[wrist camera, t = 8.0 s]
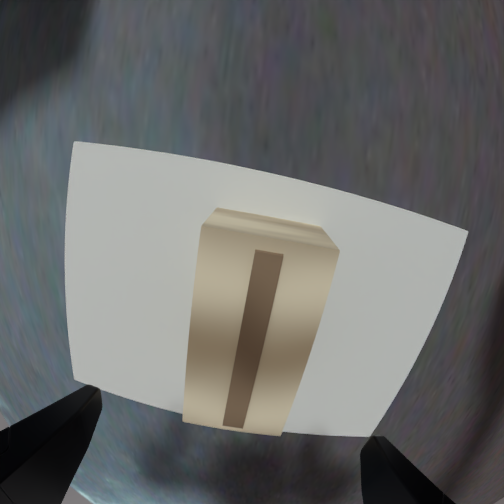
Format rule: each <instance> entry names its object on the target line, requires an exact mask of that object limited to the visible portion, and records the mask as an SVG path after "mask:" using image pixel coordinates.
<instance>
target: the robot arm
mask: <svg viewBox="0 0 504 504" xmlns="http://www.w3.org/2000/svg"><path fill="white" fill-rule="evenodd" d="M101 411H102V398H101V391H100V389H99V388H98V387H95V386H93V385H90V384H89V385H86V386H84V387H82V388H80V389H79V390H77V391H75V392H73V393H71V394H69V395H68V396H66V397H64V398H62V399H60V400H58V401H57V402H55V403H53V404H51V405H49V406H47V407H46V408H44V409H42V410H40V411H38V412H36V413H34V414H32V415H31V416H29V417H27V418H25V419H23V420H21V421H19V422H17V423H15V424H13V425H11V426H10V427H7V428H6V429H4V430H2V431H0V504H61V503H62V501H63V499H64V496H65V494H66V492H67V490H68V488H69V486H70V484H71V482H72V480H73V478H74V475H75V473H76V471H77V469H78V467H79V465H80V463H81V461H82V459H83V457H84V455H85V453H86V451H87V449H88V447H89V444H90V441H91V438H92V436H93V433H94V430H95V427H96V424H97V422H98V419H99V416H100V413H101ZM360 460H361V487H362V497H363V504H455V503H454V502H453V501H452V500H451V499H450V498H448V497H447V496H446V495H445V494H443V492H442V491H441V490H440V489H439V488H438V487H436V486H435V485H434V484H433V483H432V482H431V481H430V480H429V479H428V478H427V477H426V476H425V475H424V474H423V473H422V472H421V471H419V470H418V469H417V468H416V467H415V466H414V465H413V464H412V463H411V462H410V461H409V460H408V459H407V458H406V457H405V456H404V455H403V454H402V453H401V452H400V451H399V450H398V449H397V448H396V447H395V446H394V445H392V444H391V443H390V442H389V441H388V440H387V439H386V438H385V437H384V436H383V435H372V436H371V437H370V438H369V439H368V441H367V442H366V444H365V445H364V447H363V448H362V450H361V453H360Z"/></svg>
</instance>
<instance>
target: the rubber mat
mask: <svg viewBox="0 0 504 504" xmlns="http://www.w3.org/2000/svg"><path fill="white" fill-rule="evenodd" d="M216 208H223V209H229V210H235V211H241V212H247V213H253V214H258V215H264V216H269V217H275V218H280V219H286V220H291V221H296V222H302V223H307V224H312V225H317V226H321V227H322V228H323V230H324V231H325V232H326V233H327V235H328V236H329V237H330V238H331V240H332V241H333V242H334V244H335V245H336V246H337V247H338V249H339V250H340V253H339V257H338V261H337V264H336V268H335V272H334V276H333V279H332V283H331V287H330V290H329V294H328V297H327V301H326V304H325V307H324V311H323V314H322V317H321V321H320V324H319V327H318V330H317V334H316V337H315V340H314V343H313V346H312V349H311V352H310V355H309V359H308V362H307V364H306V367H305V370H304V373H303V376H302V379H301V382H300V385H299V388H298V390H297V393H296V396H295V399H294V402H293V404H292V407H291V410H290V412H289V415H288V418H287V420H286V423H285V426H284V428H283V432H293V433H303V434H316V435H332V436H366V437H370V435H371V434H372V432H373V431H374V429H375V428H376V426H377V425H378V423H379V422H380V420H381V419H382V417H383V416H384V414H385V413H386V411H387V409H388V408H389V406H390V405H391V403H392V401H393V400H394V398H395V396H396V395H397V393H398V391H399V390H400V388H401V386H402V384H403V383H404V381H405V379H406V377H407V375H408V374H409V372H410V370H411V368H412V366H413V364H414V362H415V361H416V359H417V357H418V355H419V353H420V351H421V349H422V347H423V345H424V343H425V341H426V339H427V337H428V335H429V332H430V330H431V328H432V326H433V324H434V322H435V319H436V317H437V315H438V313H439V310H440V308H441V306H442V303H443V301H444V298H445V296H446V294H447V291H448V289H449V286H450V283H451V281H452V278H453V275H454V273H455V270H456V267H457V264H458V262H459V259H460V256H461V253H462V250H463V247H464V244H465V241H466V237H467V234H468V231H466V230H464V229H461V228H458V227H455V226H453V225H450V224H447V223H444V222H441V221H438V220H435V219H432V218H429V217H426V216H423V215H420V214H417V213H414V212H411V211H408V210H405V209H402V208H399V207H395V206H392V205H389V204H386V203H382V202H379V201H376V200H372V199H369V198H365V197H362V196H358V195H355V194H351V193H348V192H344V191H340V190H337V189H333V188H329V187H325V186H322V185H318V184H314V183H310V182H306V181H302V180H298V179H294V178H289V177H285V176H281V175H277V174H272V173H268V172H263V171H259V170H254V169H249V168H245V167H240V166H235V165H230V164H225V163H220V162H215V161H209V160H204V159H198V158H193V157H187V156H181V155H175V154H169V153H163V152H157V151H150V150H143V149H136V148H129V147H121V146H113V145H105V144H96V143H87V142H74V145H73V151H72V158H71V166H70V175H69V184H68V195H67V209H66V227H65V292H66V311H67V324H68V335H69V344H70V353H71V360H72V368H73V374H74V379H75V380H77V381H80V382H82V383H85V384H88V385H89V384H90V385H93V386H95V387H98V388H99V389H101V390H104V391H107V392H110V393H113V394H116V395H119V396H122V397H125V398H128V399H131V400H134V401H138V402H141V403H144V404H148V405H151V406H155V407H158V408H162V409H166V410H170V411H174V412H178V413H182V414H183V404H184V388H185V374H186V362H187V350H188V338H189V327H190V317H191V307H192V298H193V289H194V280H195V271H196V263H197V255H198V247H199V239H200V231H201V226H202V224H203V223H204V222H205V221H206V220H207V218H208V217H209V216H210V215H211V214H212V213H213V211H214V210H215V209H216Z"/></svg>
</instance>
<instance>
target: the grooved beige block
mask: <svg viewBox="0 0 504 504" xmlns="http://www.w3.org/2000/svg"><path fill="white" fill-rule="evenodd" d="M339 253H340V250H339V249H338V247H337V246H336V245H335V244H334V242H333V241H332V240H331V238H330V237H329V236H328V235H327V233H326V232H325V231H324V230H323V228H322V227H321V226H317V225H312V224H307V223H302V222H296V221H291V220H286V219H280V218H275V217H269V216H264V215H258V214H253V213H247V212H241V211H235V210H229V209H223V208H216V209H215V210H214V211H213V213H212V214H211V215H210V216H209V217H208V218H207V220H206V221H205V222H204V223H203V224H202V226H201V231H200V239H199V247H198V255H197V263H196V271H195V280H194V289H193V298H192V307H191V317H190V327H189V338H188V350H187V362H186V374H185V388H184V404H183V422H188V423H193V424H198V425H203V426H209V427H214V428H220V429H226V430H233V431H240V432H247V433H255V434H264V435H274V436H281V433H282V431H283V428H284V426H285V423H286V420H287V418H288V415H289V412H290V410H291V407H292V404H293V402H294V399H295V396H296V393H297V390H298V388H299V385H300V382H301V379H302V376H303V373H304V370H305V367H306V364H307V362H308V359H309V355H310V352H311V349H312V346H313V343H314V340H315V337H316V334H317V330H318V327H319V324H320V321H321V317H322V314H323V311H324V307H325V304H326V301H327V297H328V294H329V290H330V287H331V283H332V279H333V276H334V272H335V268H336V264H337V261H338V257H339Z"/></svg>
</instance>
